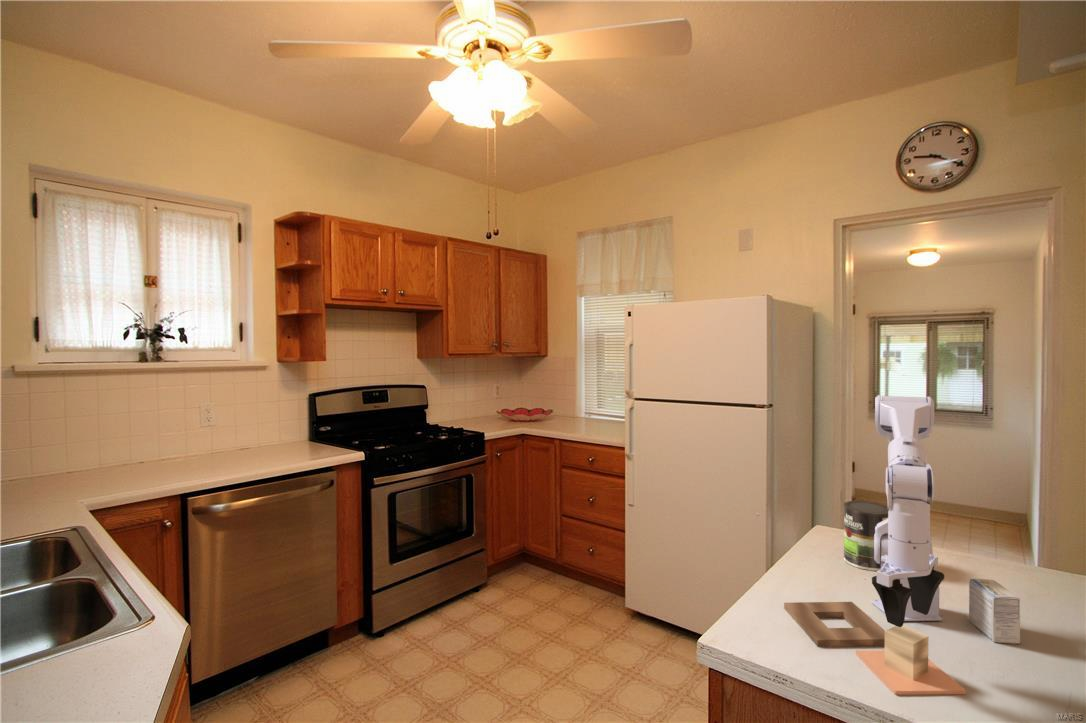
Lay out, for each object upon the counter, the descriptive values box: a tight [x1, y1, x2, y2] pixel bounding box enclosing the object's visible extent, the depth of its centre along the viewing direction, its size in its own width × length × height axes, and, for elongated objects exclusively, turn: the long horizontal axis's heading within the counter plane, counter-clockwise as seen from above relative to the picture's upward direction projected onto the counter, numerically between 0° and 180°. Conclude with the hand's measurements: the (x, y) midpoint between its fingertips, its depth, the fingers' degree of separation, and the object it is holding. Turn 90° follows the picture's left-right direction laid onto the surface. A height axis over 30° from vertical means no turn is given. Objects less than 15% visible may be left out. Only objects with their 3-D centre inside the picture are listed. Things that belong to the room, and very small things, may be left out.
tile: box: [855, 649, 967, 696], centre depth 90 cm, size 11×11×1 cm
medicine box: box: [968, 578, 1021, 645], centre depth 102 cm, size 8×4×9 cm, turn 168°
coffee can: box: [843, 500, 889, 572], centre depth 134 cm, size 10×10×14 cm
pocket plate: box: [783, 601, 886, 647], centre depth 106 cm, size 14×14×1 cm
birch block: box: [884, 625, 929, 680], centre depth 91 cm, size 4×4×6 cm
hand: (907, 618), depth 90 cm, fingers open, 7 cm apart
